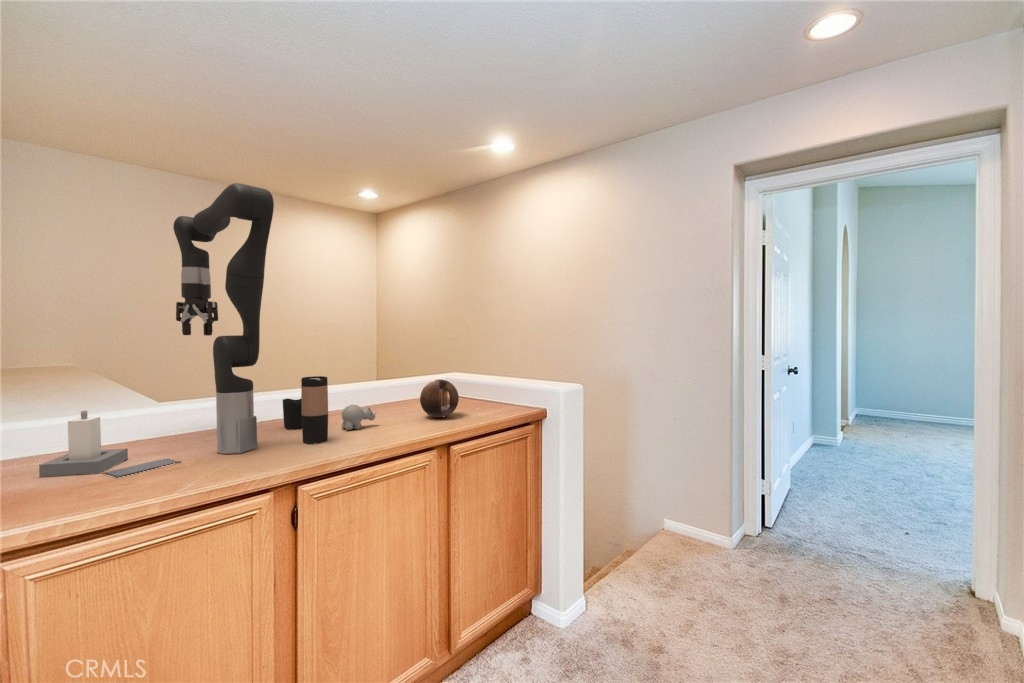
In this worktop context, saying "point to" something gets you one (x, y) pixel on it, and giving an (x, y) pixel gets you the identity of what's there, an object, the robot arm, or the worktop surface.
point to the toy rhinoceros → (356, 416)
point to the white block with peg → (84, 437)
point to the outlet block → (82, 464)
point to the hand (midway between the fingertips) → (197, 335)
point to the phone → (140, 468)
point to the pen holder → (292, 413)
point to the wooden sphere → (439, 398)
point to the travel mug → (314, 409)
